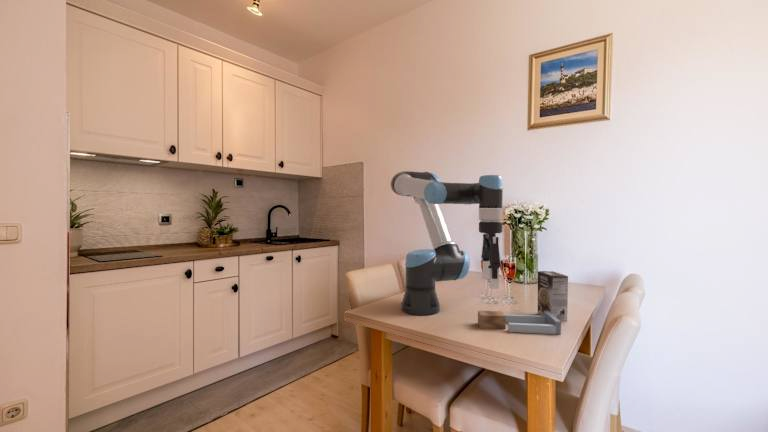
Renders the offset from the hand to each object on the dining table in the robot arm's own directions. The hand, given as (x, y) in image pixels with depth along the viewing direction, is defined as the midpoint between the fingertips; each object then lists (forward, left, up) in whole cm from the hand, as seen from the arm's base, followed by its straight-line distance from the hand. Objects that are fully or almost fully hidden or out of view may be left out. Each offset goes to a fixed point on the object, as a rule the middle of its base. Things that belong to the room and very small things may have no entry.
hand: (490, 283), depth 110 cm
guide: (+12, 0, -14) cm, 19 cm away
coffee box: (+24, +12, -15) cm, 31 cm away
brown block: (0, 0, -15) cm, 14 cm away
